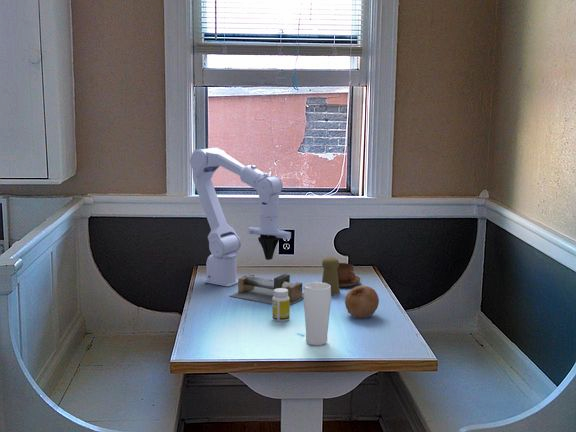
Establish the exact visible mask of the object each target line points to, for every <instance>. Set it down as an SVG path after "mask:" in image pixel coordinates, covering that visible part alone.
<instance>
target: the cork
mask: <svg viewBox="0 0 576 432" xmlns="http://www.w3.org/2000/svg"><path fill="white" fill-rule="evenodd" d="M321 263H322V264H321V266H322V269H323V273H322V279H321V282H323V283H327V284H329V285H330V286H331V296H337V295H339V294H340V292H341V291H340V286H339V282H338V273H337V268H338V267H339V263H340V262H339V259H338V258H336V257H325V258H323V260H322V261H321Z"/></svg>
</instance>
